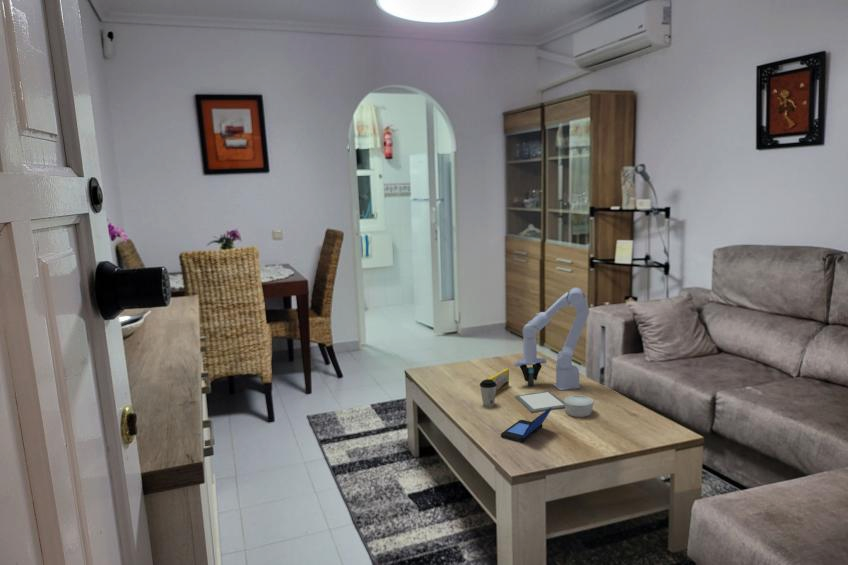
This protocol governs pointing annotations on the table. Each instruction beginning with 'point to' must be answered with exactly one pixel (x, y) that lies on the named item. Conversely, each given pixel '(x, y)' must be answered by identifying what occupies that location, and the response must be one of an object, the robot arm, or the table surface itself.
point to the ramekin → (578, 405)
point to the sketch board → (540, 401)
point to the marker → (530, 376)
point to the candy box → (501, 380)
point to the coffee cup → (488, 392)
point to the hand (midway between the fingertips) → (530, 380)
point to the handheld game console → (524, 428)
